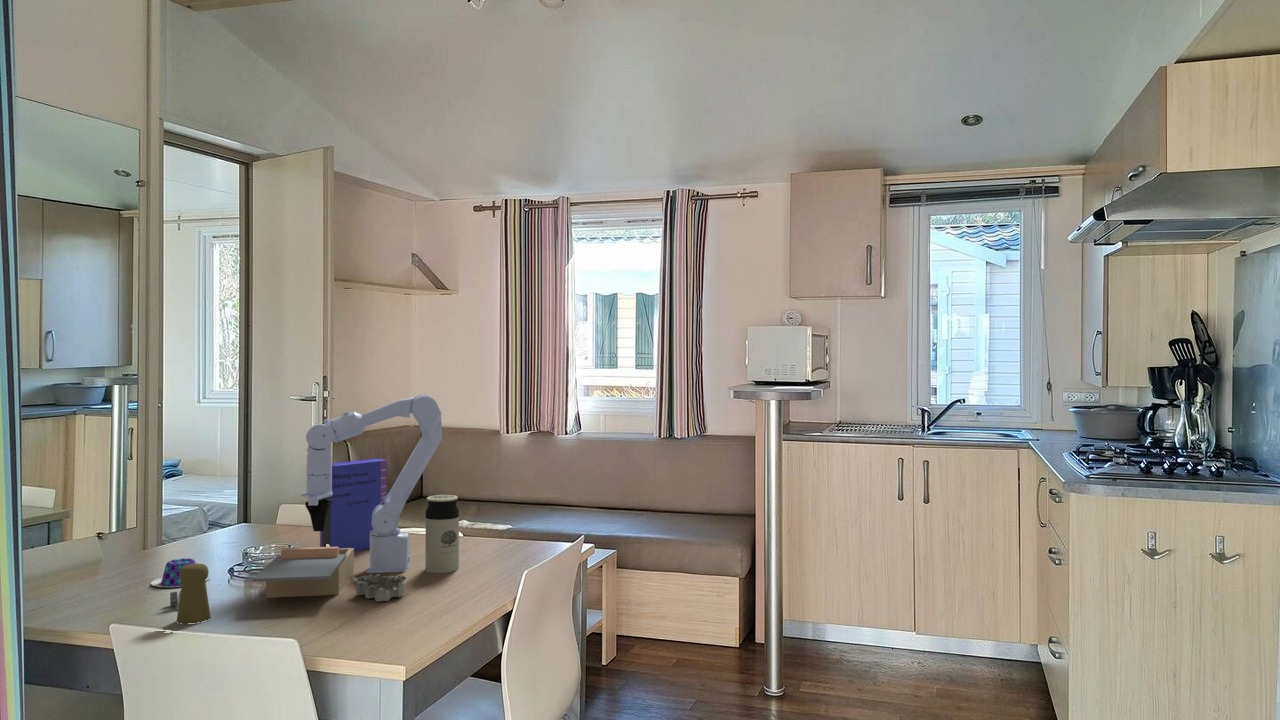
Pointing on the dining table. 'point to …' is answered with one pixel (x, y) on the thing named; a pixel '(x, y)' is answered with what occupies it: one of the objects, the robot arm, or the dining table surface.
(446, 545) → the travel mug
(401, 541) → the robot arm
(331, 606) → the dining table surface
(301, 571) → the lid
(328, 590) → the mailer box
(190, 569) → the cork
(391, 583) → the egg carton
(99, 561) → the dining table surface
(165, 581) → the purple spotted hat
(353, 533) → the blue book
